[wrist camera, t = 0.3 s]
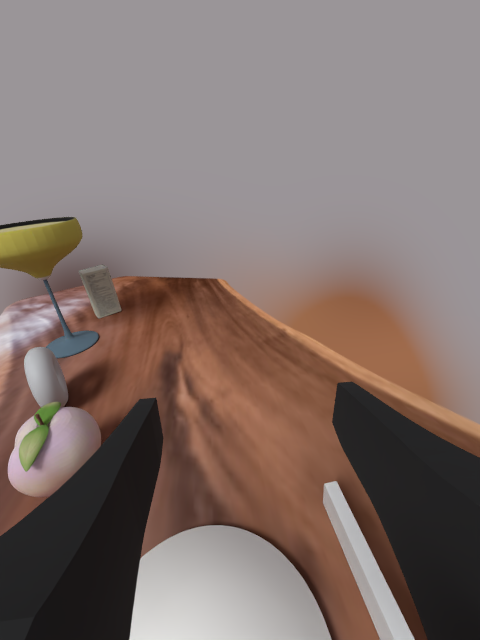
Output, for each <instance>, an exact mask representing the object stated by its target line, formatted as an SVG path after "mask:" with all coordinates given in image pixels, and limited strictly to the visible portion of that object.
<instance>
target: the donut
mask: <svg viewBox="0 0 480 640" xmlns="http://www.w3.org/2000/svg"><path fill="white" fill-rule="evenodd" d="M24 368H25V373H26V377H27V381H28V384H29V386H30V389H31V391H32V394H33V396H34V398H35V399H36V401H37V403H38V404H39V405H40V406H41V407H43V406H44V405H46V404H48V403H51V402H60V403H61V406H60V407H64V406H65V404H66V403H67V401H68V390H67V385H66V382H65V378H64V375H63V372H62V370H61V367H60V365H59V363H58V361H57V359H56V357H55V355H54V353H53V352H52V351H51V350H50V349H48V348H45V347H36V348H33V349H31V350H30V351H29V352H28V353H27V354H26V357H25V360H24Z"/></svg>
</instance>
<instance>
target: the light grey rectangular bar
mask: <svg viewBox="0 0 480 640" xmlns="http://www.w3.org/2000/svg"><path fill="white" fill-rule="evenodd" d="M323 504H324V506H325V509H326V511H327V514H328V516H329V518H330V521H331V523H332V525H333V528H334V530H335V533H336V535H337V537H338V540H339V542H340V545H341V547H342V549H343V552H344V554H345V556H346V559H347V561H348V564H349V566H350V568H351V571H352V573H353V576H354V578H355V580H356V583H357V585H358V587H359V590H360V592H361V595H362V597H363V599H364V602H365V604H366V606H367V609H368V611H369V614H370V616H371V618H372V621H373V623H374V626H375V628H376V630H377V633H378V635H379V637H380V640H415V639H414V637H413V635H412V633H411V631H410V629H409V627H408V625H407V623H406V621H405V619H404V617H403V615H402V613H401V611H400V609H399V607H398V605H397V603H396V601H395V599H394V597H393V595H392V593H391V591H390V589H389V587H388V585H387V583H386V581H385V579H384V576H383V574H382V572H381V570H380V568H379V566H378V564H377V562H376V560H375V558H374V556H373V554H372V552H371V550H370V548H369V546H368V544H367V542H366V540H365V538H364V536H363V534H362V532H361V530H360V528H359V526H358V524H357V522H356V520H355V518H354V516H353V514H352V512H351V510H350V508H349V506H348V504H347V502H346V500H345V498H344V496H343V493H342V491H341V489H340V487H339V485H338V483H337V481H334V482H330V483H325V484H324V495H323Z"/></svg>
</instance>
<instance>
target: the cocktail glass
mask: <svg viewBox="0 0 480 640" xmlns="http://www.w3.org/2000/svg"><path fill="white" fill-rule="evenodd" d="M81 239H82V230H81V227H80V225H79V223H78V221H77V219H76V218H75V217H64V218H63V217H62V218H52V219H42V220H33V221H26V222H19V223H12V224H6V225H0V268H6V269H12V270H18V271H22V272H26V273H28V274H30V275H32V276H33V277H35V278H37V279H39V280H43V281H44V283H45V286H46V288H47V290H48V292H49V295H50V297H51V300H52V302H53V304H54V307H55V309H56V311H57V314H58V316H59V319H60V321H61V324H62V327H63V330H64V334H65V336H62V337H60V338H58V339H56V340H54V341H53V342H51V343H50V344H49V345H47V347H46V348H48V349H50V350H51V351H52V352H53V353H54V355H55V357H56V358H63V357H68V356H72V355H75V354H78V353H80V352H82V351H85V350H86V349H88V348H90V347H91V346H93V345H94V344H95V343H96V342H97V340H98V338H99V336H98V334H97V333H96V332H94V331H79V332H74V333H71V332H70V330H69V328H68V327H67V325H66V323H65V320H64V318H63V316H62V314H61V311H60V309H59V307H58V305H57V302H56V300H55V298H54V295H53V293H52V291H51V288H50V286H49V284H48V281H47V279H48V278H49V277H50V276H51V273H52V270H53V268H54V266H55V265H56V264H57V263H58V262H59V261H60V260H62V259H63V258H64V257H65V256H67V255H68V254H69V253H70V252H72V251H73V250H74V249H75V248H76V247H77V245H78V244H79V243H80V241H81Z"/></svg>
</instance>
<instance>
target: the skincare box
mask: <svg viewBox="0 0 480 640" xmlns="http://www.w3.org/2000/svg"><path fill="white" fill-rule="evenodd" d="M79 273H80V276H81V279H82V281H83V284H84V286H85V289H86V292H87V294H88V297H89V299H90V302H91V305H92V307H93V310H94V313H95V314H96V316H97V317H98V318H102V317H105V316H108V315H111V314H114V313H117V312H119V311H122V310H121V307H120V303H119V300H118V298H117V294H116V291H115V288H114V285H113V282H112V279H111V276H110V273H109V270H108V267H106V266H105V265H100V266H95V267H92V268H88V269H84V270H80V271H79Z"/></svg>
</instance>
